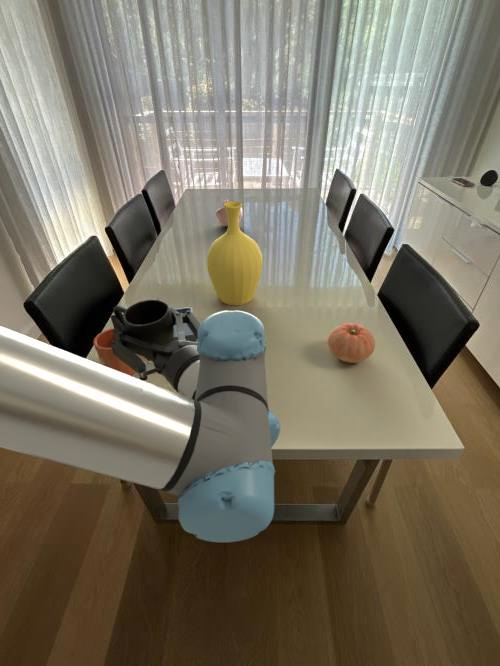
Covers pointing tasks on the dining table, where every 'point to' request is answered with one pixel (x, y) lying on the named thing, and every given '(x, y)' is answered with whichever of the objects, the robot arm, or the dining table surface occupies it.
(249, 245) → the vase
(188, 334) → the tray
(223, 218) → the mortar and pestle
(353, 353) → the orange pumpkin
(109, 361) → the terracotta cup
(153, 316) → the mug
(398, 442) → the dining table surface
